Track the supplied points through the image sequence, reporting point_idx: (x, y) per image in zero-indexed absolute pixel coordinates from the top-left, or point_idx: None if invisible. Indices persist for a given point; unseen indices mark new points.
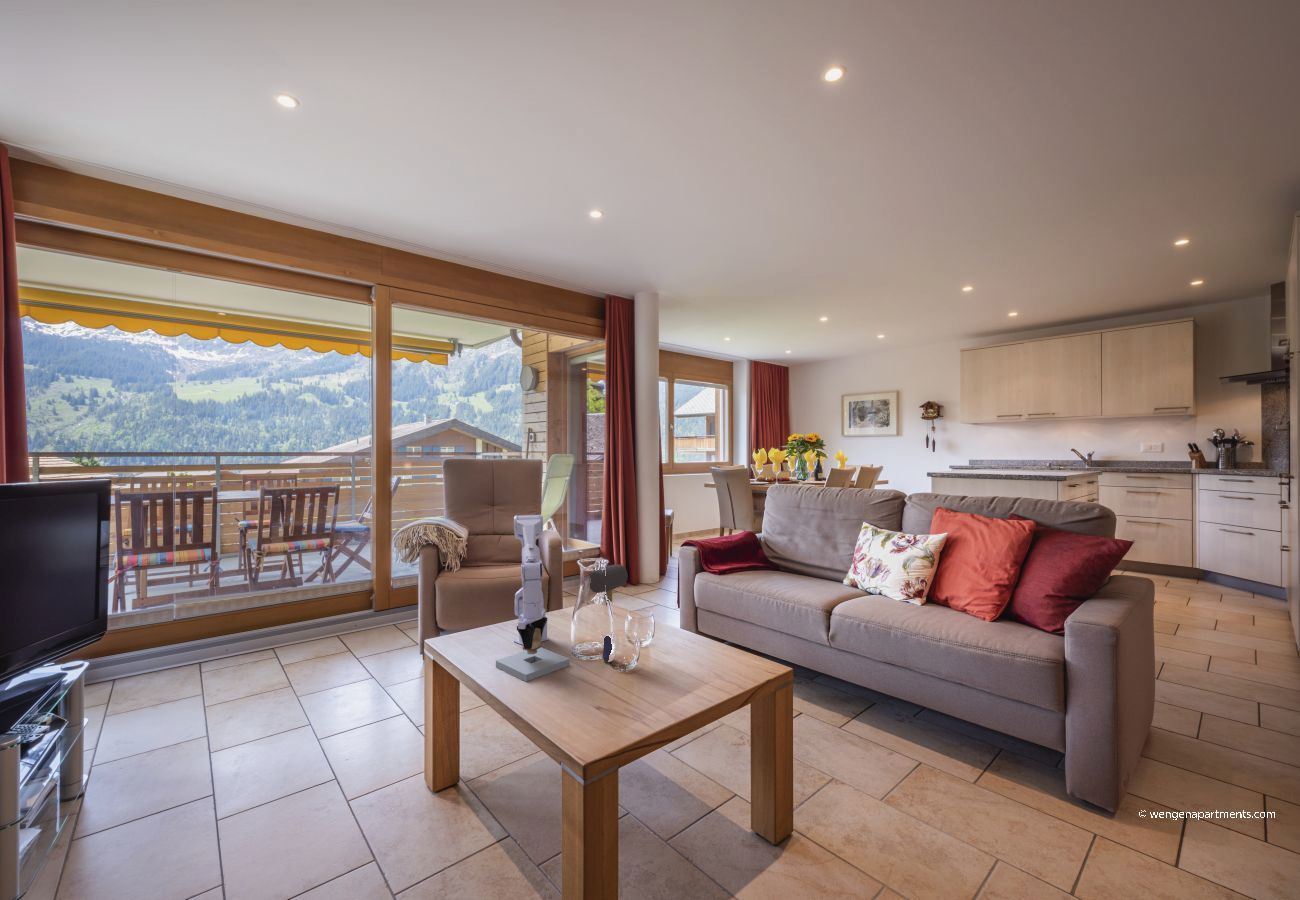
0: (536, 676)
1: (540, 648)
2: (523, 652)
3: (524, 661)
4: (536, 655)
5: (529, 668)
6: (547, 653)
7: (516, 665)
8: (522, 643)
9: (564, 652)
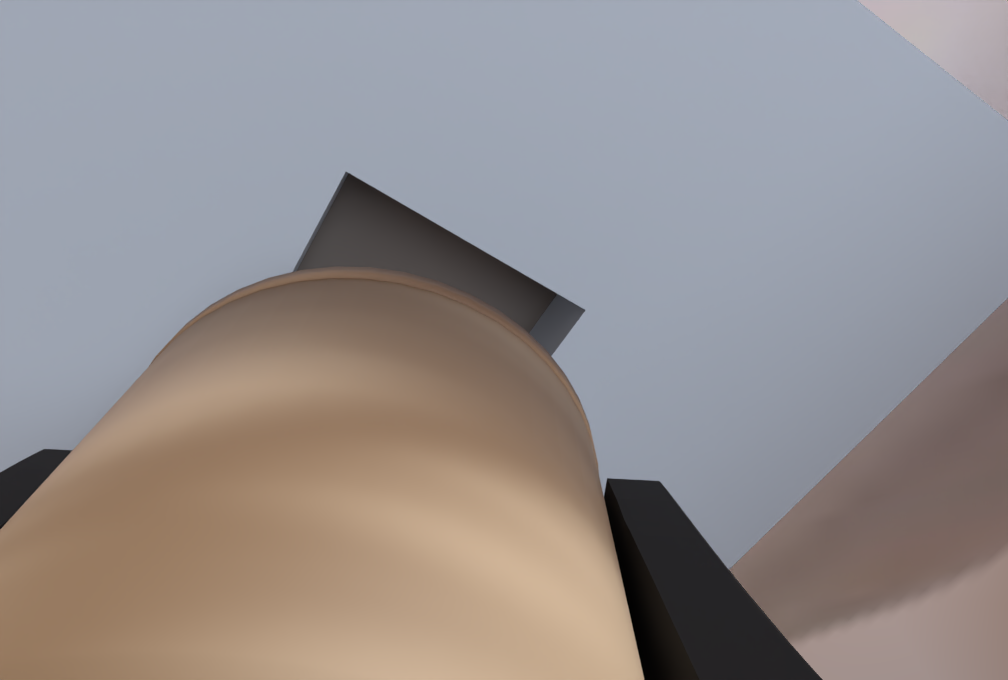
0: None
1: (970, 280)
2: (750, 9)
3: (279, 242)
4: (603, 339)
5: (45, 433)
6: (709, 472)
7: (50, 170)
8: (177, 358)
9: (969, 525)
